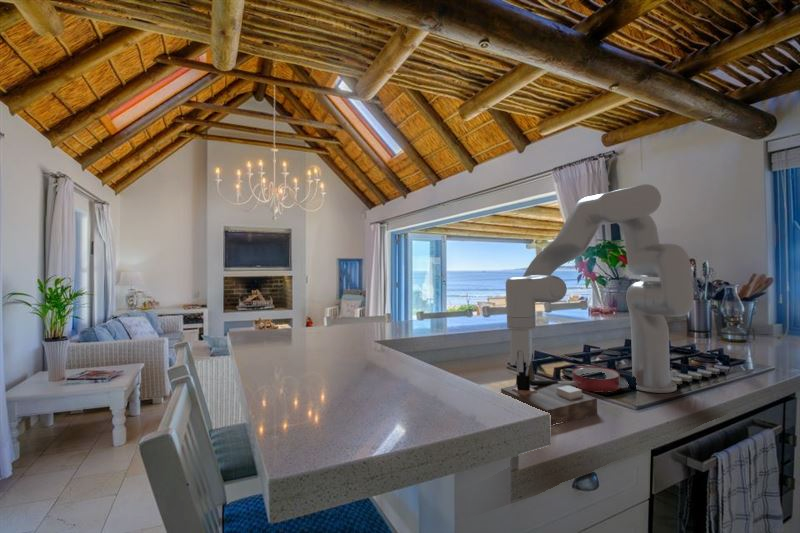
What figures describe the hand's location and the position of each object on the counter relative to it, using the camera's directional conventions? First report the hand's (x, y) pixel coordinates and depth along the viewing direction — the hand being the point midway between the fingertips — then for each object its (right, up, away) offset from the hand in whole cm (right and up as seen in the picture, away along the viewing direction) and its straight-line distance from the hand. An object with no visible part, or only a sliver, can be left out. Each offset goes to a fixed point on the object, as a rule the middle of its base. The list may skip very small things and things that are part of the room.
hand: (523, 389), depth 107 cm
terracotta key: (0, -3, 0) cm, 3 cm away
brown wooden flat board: (+6, -4, -2) cm, 7 cm away
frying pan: (+18, -4, +8) cm, 20 cm away
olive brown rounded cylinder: (+6, -4, +18) cm, 19 cm away
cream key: (+11, -1, -4) cm, 12 cm away
